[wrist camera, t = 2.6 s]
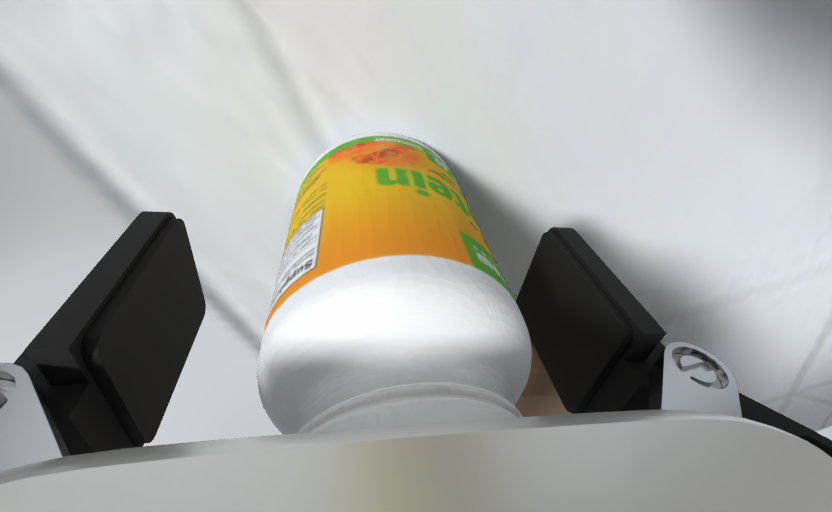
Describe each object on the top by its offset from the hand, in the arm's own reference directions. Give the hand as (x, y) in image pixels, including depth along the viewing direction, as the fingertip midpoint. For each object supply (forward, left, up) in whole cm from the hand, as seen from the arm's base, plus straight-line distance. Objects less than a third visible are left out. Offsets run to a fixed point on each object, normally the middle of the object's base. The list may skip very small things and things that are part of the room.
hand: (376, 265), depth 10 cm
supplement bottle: (0, 0, -4) cm, 4 cm away
